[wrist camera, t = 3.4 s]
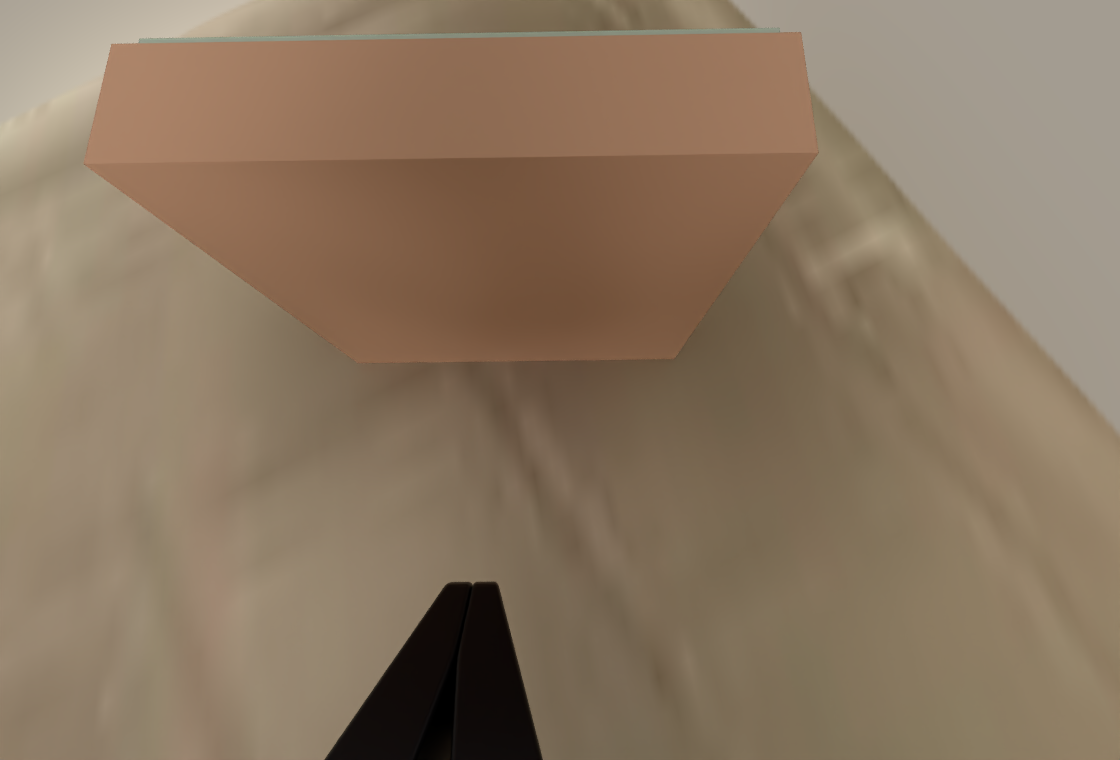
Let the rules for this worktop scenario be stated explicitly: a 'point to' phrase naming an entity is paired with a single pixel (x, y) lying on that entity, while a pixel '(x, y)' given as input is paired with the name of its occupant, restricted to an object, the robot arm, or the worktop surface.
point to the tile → (468, 178)
